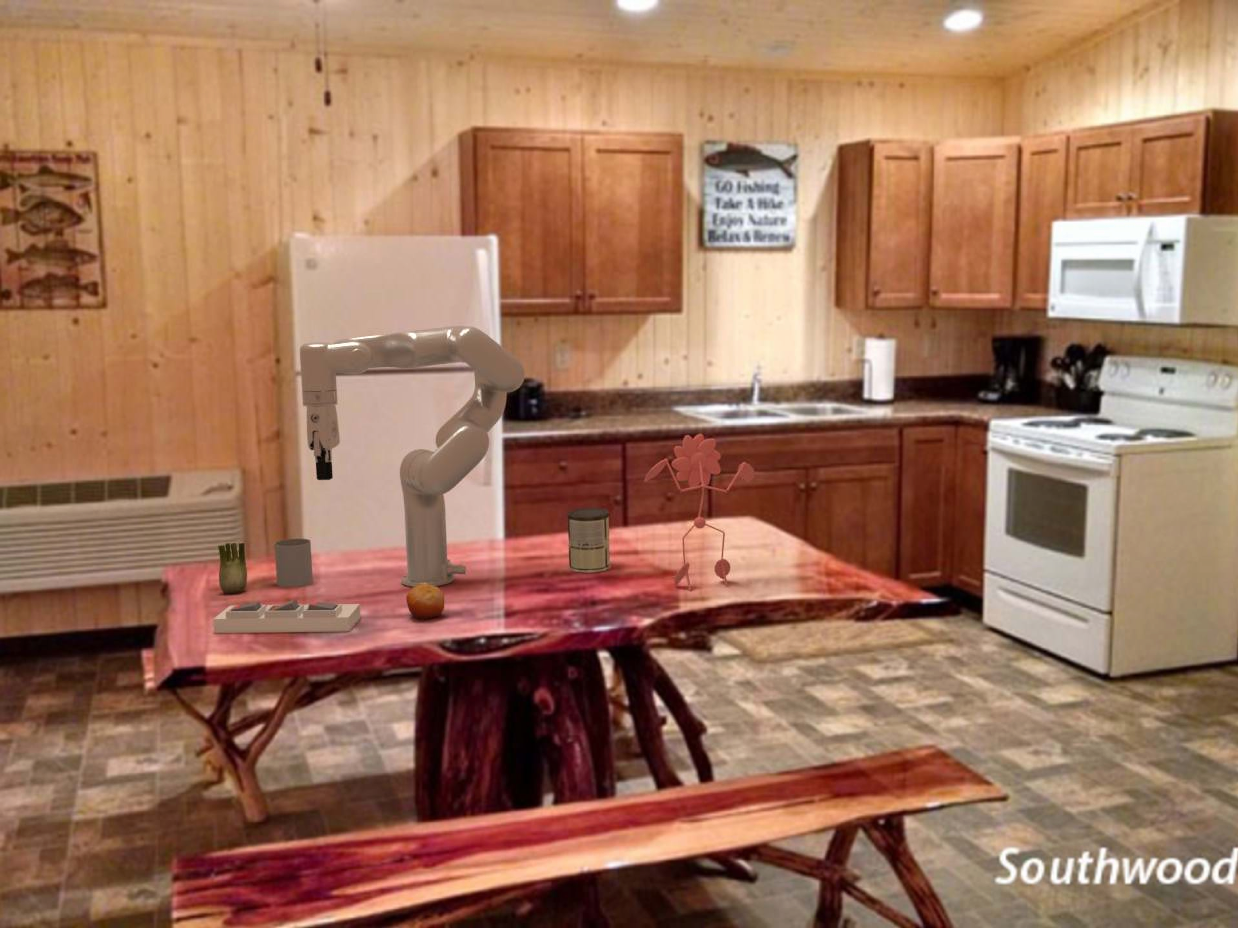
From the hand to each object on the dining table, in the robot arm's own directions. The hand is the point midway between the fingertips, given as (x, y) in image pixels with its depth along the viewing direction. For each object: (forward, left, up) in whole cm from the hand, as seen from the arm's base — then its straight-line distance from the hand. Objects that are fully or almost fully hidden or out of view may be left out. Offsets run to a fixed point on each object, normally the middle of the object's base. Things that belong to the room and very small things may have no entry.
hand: (324, 479), depth 269 cm
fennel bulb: (+24, -4, -27) cm, 37 cm away
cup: (+12, -12, -27) cm, 32 cm away
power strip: (+3, +23, -27) cm, 36 cm away
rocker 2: (-5, +25, -23) cm, 34 cm away
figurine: (-84, -8, -27) cm, 89 cm away
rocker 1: (+11, +25, -23) cm, 36 cm away
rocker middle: (+3, +25, -23) cm, 34 cm away
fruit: (-25, +18, -27) cm, 41 cm away
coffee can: (-58, -23, -27) cm, 68 cm away
